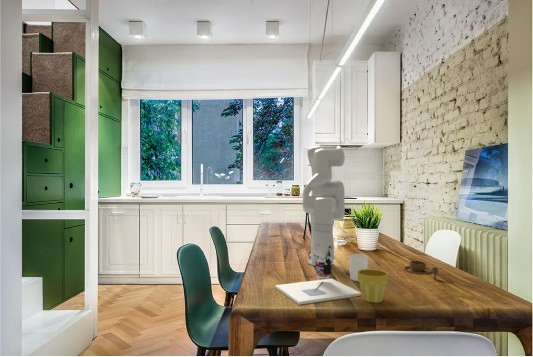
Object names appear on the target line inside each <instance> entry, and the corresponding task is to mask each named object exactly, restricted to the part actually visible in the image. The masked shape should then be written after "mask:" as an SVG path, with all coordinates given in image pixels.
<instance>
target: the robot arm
mask: <svg viewBox="0 0 533 357" xmlns="http://www.w3.org/2000/svg"><path fill="white" fill-rule="evenodd" d="M345 157H346V156H345V152H344V149H343V147H342V146H341V145H314V146H311V147H309V148H308V149H307V159H308V163H309V166H310V168H311V172H312V177H311V178H310V179H309V180H307V182H306V183H305V185H304V187H303V191H302V208H303V211H304V212H305V213H307V214H309V215H310V216H309V218H310V226H311V230H310V232H311V234H310V235H311V237H310V238H311V239H310V241H311V242H310V243H311V244H310V246H311V247H310V249H311V250H310V252H311V253H309V257H310V259H308V260H307V263H308V264H309V265H310V266H314V267H316V260H317V258H319V257H318V256H320V257H324V268H323V274H324V275H327V274H330V275H331V274H332V266H333V265H334V260H335V259H336V257H335V254H334V253H335V246H334V242H335V241H334V234H333V232H334V231H333V230H334V229H333V228H334V225H333V223H334V222H335V221H337V222H339V221H342V220H344V218H345V213H346V212H345V210H346V209H345V204H346V203H345V202H346V201H345V186H344V183H343V182H342V181H341V180H332V178H333V171H332V170H333V169H332V168H333V167H343V166H344V164H345V159H346V158H345ZM311 192H312V195H310V193H311ZM327 255H328V256H327ZM326 258H328V260H327V259H326Z"/></svg>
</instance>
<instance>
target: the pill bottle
mask: <svg viewBox="0 0 533 357" xmlns="http://www.w3.org/2000/svg"><path fill="white" fill-rule="evenodd" d="M327 256H328V255H327ZM318 257H319V258H317V260H316V266H315V271H316V272H315V275H316V278H318V279H330V275H331V274H327V275H324V274H323V268H324V257H320V256H318ZM326 259H327V260H328V258H326Z"/></svg>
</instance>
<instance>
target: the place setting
mask: <svg viewBox="0 0 533 357" xmlns="http://www.w3.org/2000/svg"><path fill="white" fill-rule="evenodd" d="M403 269H404V271H405V272H407V273H410V274H417V275H428V274H432V275H433V280H437V275H438V274H439V268H438V267H431V268H429V267H427V263H426V262H424V261H419V260H410V261H409V265H408V266H407V265H406V266H404V267H403ZM408 269H410V270H408ZM398 271H399V272H400V270H399V269H398ZM424 271H427V272H424Z"/></svg>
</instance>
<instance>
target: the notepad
mask: <svg viewBox="0 0 533 357" xmlns="http://www.w3.org/2000/svg"><path fill="white" fill-rule="evenodd" d="M274 285H275V284H274ZM274 288H275V289H276V290H277V291H279V292H280V293H282V294H283V295H284V296H285V297H287V298H288V299H290V300H291V301H293V302H294V303H295V304H296V305H299V306H300V305H306V304H312V303H313V304H314V303H319V302H320V303H321V302H327V301H333V300H339V299H340V300H341V299H347V298H354V297H355V298H356V297H359V296H361V297H362V291H361V292H360V291H358V290H356V289H354V288H353V287H350V286H348V285H346V284H344V283H342V282H340V281H338V280H336V279H333V278H323V279H316V280H307V281H300V282H292V283H283V284H276V285H275V286H274Z"/></svg>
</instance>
